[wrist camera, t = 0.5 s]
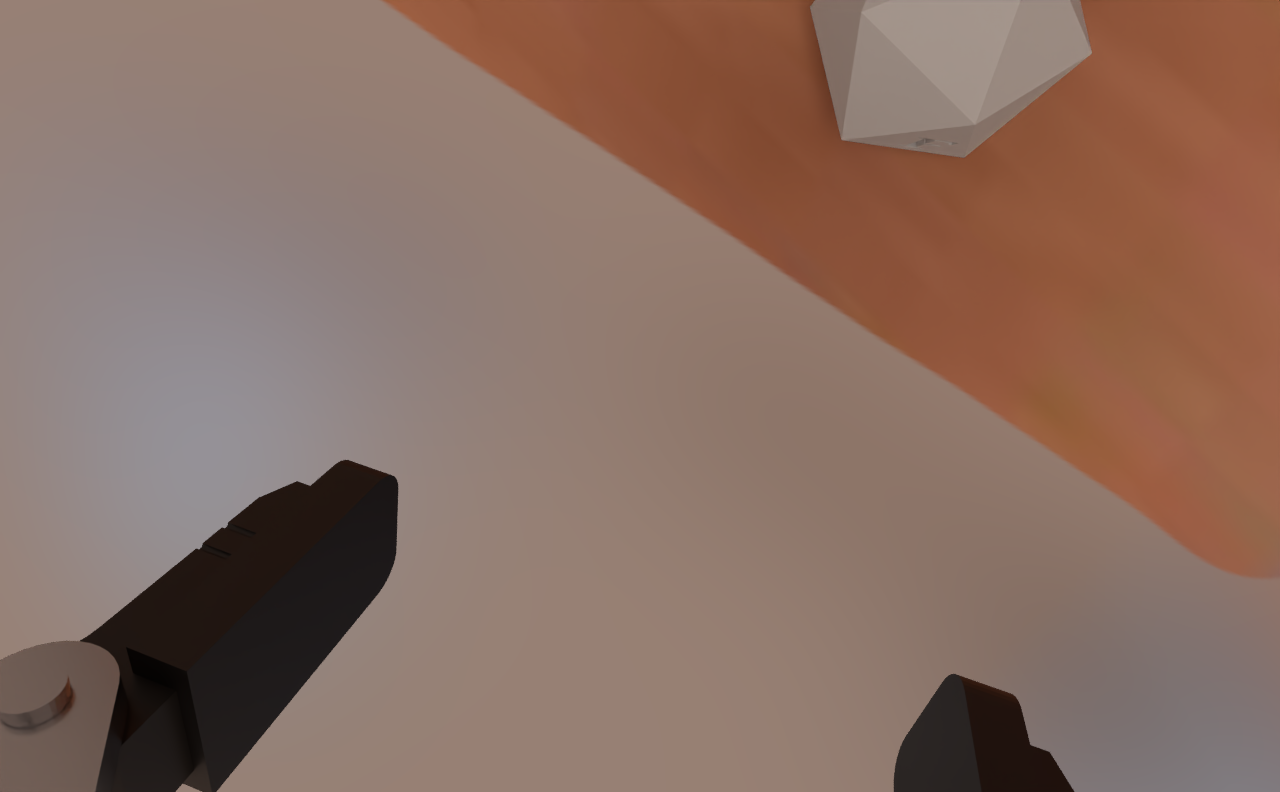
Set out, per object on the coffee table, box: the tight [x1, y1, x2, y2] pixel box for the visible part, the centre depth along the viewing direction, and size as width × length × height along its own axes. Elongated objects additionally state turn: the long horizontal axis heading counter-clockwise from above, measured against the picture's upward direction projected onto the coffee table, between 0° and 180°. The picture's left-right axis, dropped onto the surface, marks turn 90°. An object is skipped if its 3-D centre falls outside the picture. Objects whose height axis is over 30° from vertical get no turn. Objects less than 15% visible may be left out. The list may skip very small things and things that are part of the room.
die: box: [810, 0, 1092, 158], centre depth 26 cm, size 8×9×10 cm
